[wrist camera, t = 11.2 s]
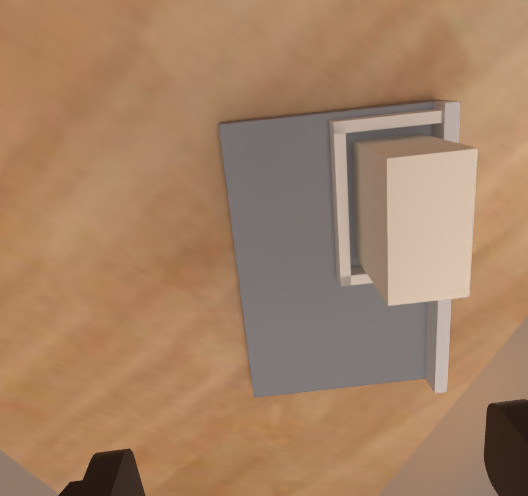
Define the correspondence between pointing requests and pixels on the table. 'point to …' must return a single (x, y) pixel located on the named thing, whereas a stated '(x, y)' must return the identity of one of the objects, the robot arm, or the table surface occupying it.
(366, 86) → the table surface
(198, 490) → the table surface
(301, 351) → the shelf deck
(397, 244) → the cream box
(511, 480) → the robot arm
